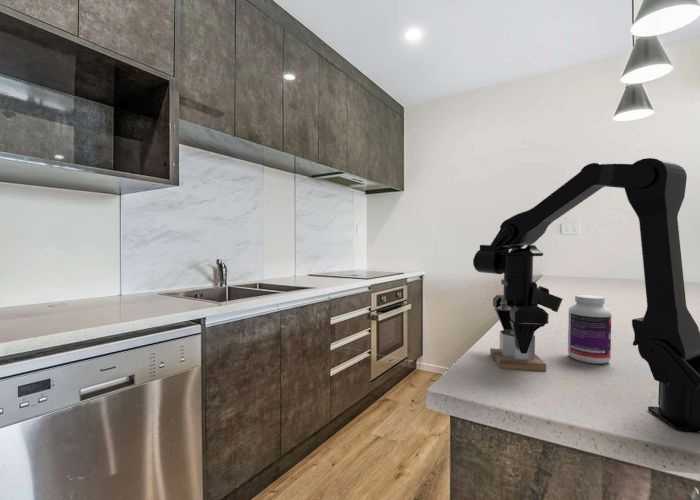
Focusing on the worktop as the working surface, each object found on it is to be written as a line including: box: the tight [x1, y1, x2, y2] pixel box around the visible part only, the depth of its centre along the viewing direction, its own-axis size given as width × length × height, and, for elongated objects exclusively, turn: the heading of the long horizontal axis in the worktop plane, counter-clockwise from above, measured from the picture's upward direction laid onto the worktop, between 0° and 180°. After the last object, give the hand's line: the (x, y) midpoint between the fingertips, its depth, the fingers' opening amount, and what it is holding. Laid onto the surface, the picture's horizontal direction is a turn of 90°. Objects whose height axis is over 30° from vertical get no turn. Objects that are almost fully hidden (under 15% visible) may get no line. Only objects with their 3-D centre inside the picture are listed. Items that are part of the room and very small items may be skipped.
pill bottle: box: [567, 294, 612, 365], centre depth 80 cm, size 8×8×14 cm
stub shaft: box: [489, 332, 547, 372], centre depth 78 cm, size 9×9×6 cm
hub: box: [499, 329, 536, 361], centre depth 78 cm, size 6×6×5 cm
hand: (516, 346), depth 78 cm, fingers open, 9 cm apart
